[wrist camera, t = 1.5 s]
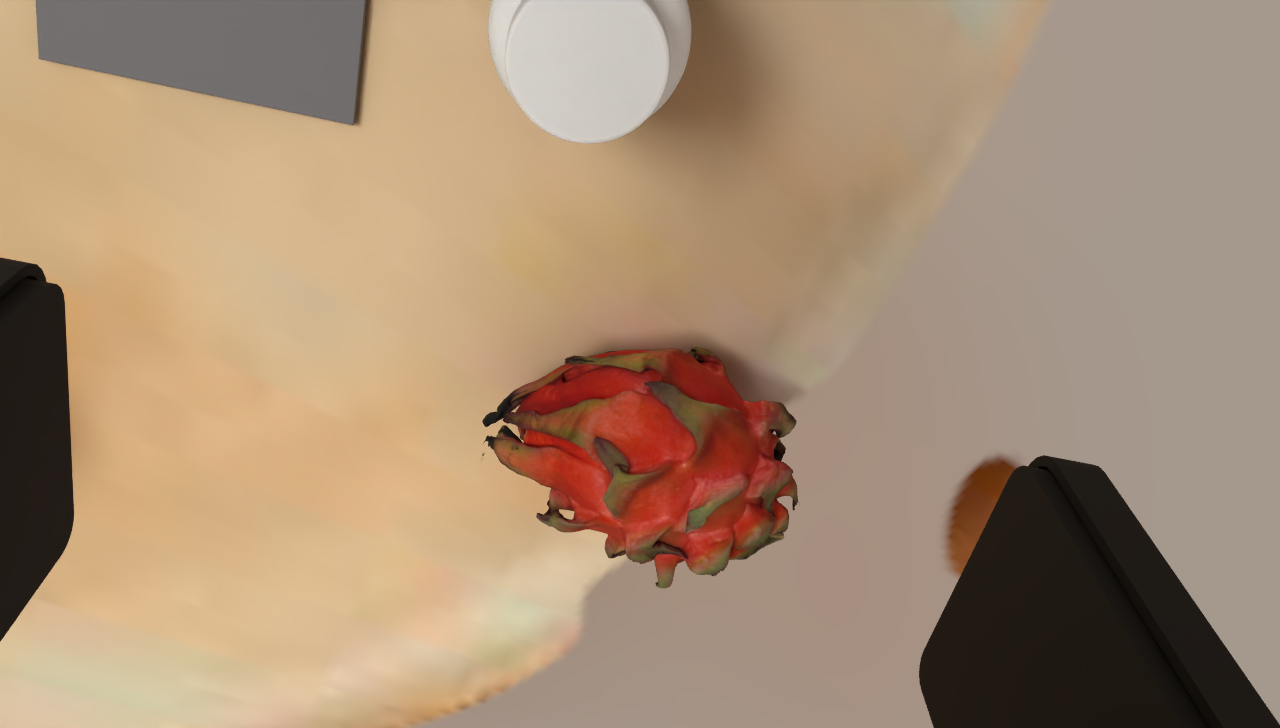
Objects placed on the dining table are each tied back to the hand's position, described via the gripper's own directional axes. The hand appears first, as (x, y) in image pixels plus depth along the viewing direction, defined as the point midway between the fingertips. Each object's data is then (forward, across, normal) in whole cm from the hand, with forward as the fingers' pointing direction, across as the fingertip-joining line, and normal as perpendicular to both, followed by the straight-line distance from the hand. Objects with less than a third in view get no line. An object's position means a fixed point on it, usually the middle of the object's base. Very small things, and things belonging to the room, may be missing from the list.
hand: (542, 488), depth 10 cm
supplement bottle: (+27, 0, 0) cm, 27 cm away
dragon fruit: (+27, -5, +15) cm, 31 cm away
